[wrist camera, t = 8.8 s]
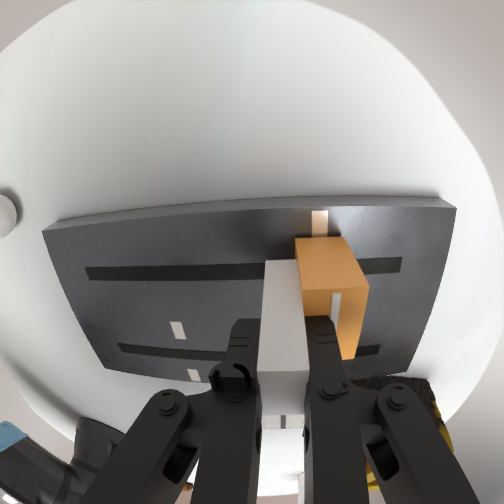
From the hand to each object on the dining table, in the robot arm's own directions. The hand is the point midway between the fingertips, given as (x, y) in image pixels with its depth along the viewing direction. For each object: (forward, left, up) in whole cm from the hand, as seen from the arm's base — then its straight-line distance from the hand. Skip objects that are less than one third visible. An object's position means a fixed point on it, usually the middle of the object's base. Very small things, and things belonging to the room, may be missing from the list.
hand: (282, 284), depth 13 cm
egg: (-24, +5, -4) cm, 24 cm away
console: (-3, -4, -3) cm, 6 cm away
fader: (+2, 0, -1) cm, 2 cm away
